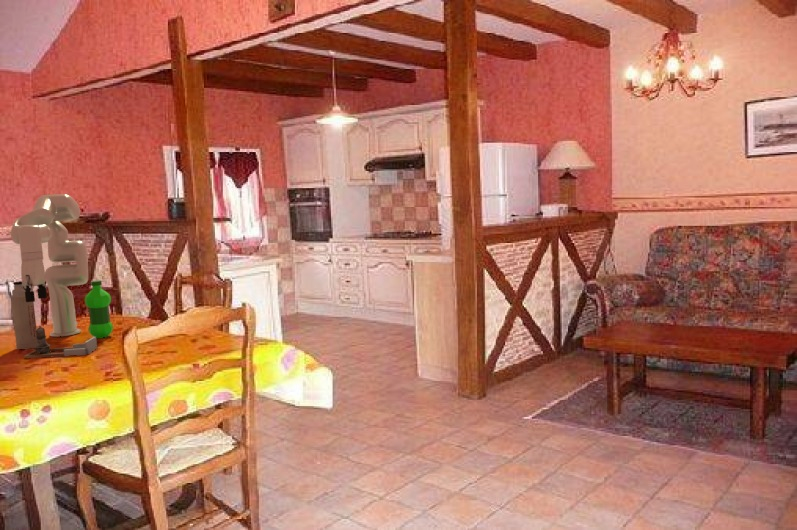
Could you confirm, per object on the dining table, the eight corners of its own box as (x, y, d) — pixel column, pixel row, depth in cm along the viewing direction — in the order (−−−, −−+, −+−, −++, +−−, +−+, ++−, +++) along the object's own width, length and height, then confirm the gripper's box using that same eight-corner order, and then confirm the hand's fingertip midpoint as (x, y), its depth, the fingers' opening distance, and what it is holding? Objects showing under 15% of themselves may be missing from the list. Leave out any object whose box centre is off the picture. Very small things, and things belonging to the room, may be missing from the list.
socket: (74, 350, 266) (73, 338, 266) (97, 348, 267) (96, 336, 266) (64, 356, 256) (63, 343, 256) (88, 354, 257) (86, 342, 257)
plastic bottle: (98, 334, 295) (92, 279, 292) (119, 334, 293) (113, 279, 290) (83, 339, 285) (77, 283, 282) (105, 339, 283) (99, 282, 280)
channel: (35, 352, 265) (35, 349, 265) (74, 350, 266) (74, 347, 266) (24, 358, 255) (23, 355, 255) (64, 356, 256) (64, 353, 256)
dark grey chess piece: (39, 353, 263) (35, 324, 262) (54, 352, 264) (50, 323, 262) (32, 357, 257) (28, 327, 256) (47, 356, 258) (44, 326, 256)
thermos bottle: (42, 345, 278) (35, 280, 275) (28, 349, 270) (21, 282, 267) (26, 345, 280) (19, 280, 276) (12, 349, 272) (4, 283, 269)
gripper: (33, 255, 265) (37, 297, 267) (10, 259, 248) (15, 303, 249) (52, 254, 265) (56, 296, 267) (30, 258, 248) (35, 302, 250)
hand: (36, 300), depth 258 cm, fingers open, 9 cm apart
